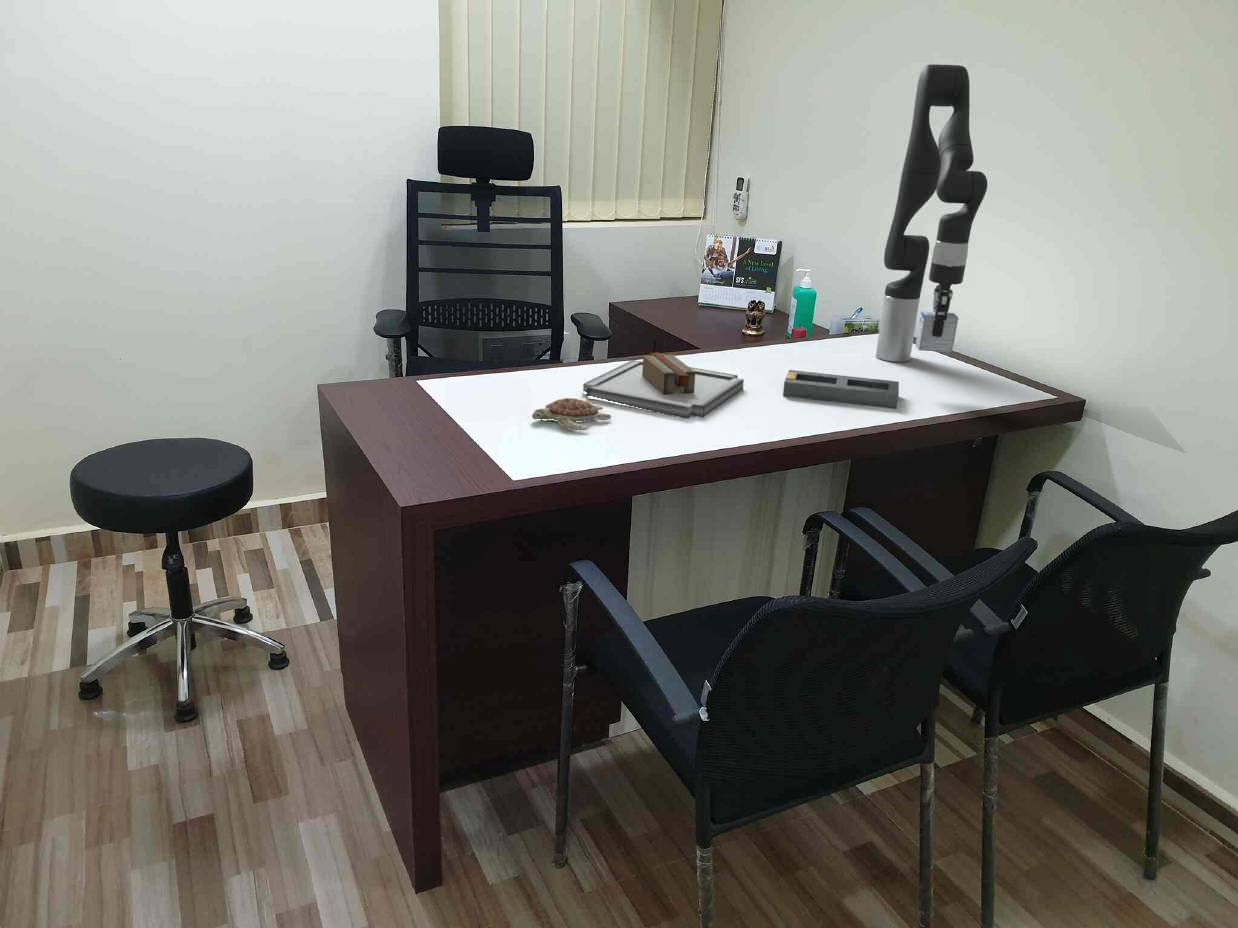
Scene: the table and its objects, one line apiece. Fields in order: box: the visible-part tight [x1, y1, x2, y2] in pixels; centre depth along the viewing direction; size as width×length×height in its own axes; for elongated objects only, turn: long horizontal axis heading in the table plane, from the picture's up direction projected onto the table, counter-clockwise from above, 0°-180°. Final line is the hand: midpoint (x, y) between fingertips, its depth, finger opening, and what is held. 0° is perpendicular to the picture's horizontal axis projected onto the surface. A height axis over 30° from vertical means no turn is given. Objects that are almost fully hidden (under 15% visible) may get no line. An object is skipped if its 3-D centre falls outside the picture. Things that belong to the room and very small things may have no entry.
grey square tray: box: [582, 352, 745, 419], centre depth 214 cm, size 30×30×8 cm
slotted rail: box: [782, 369, 900, 410], centre depth 217 cm, size 11×26×4 cm, turn 74°
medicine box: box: [915, 310, 959, 353], centre depth 216 cm, size 8×4×9 cm, turn 84°
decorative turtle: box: [531, 397, 612, 431], centre depth 194 cm, size 18×17×5 cm
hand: (936, 333), depth 216 cm, fingers closed on medicine box, 5 cm apart
